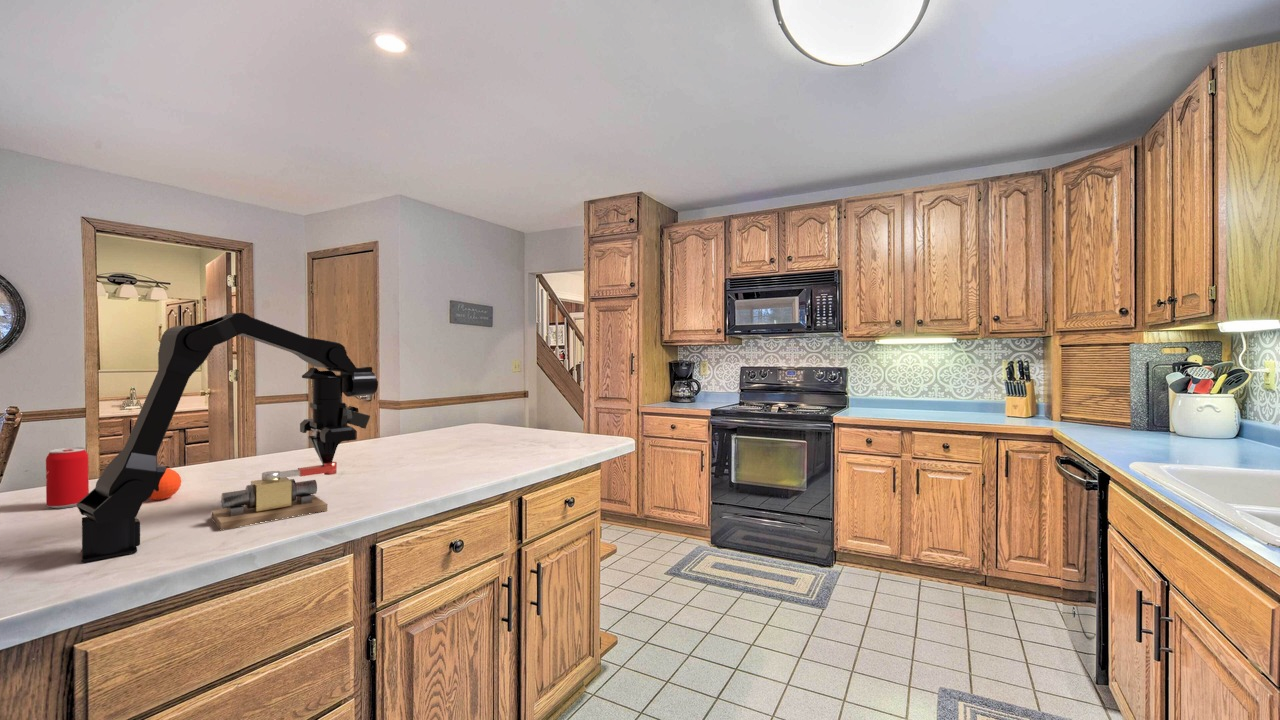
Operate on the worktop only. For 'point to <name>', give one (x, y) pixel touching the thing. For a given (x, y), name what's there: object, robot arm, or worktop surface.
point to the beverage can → (66, 477)
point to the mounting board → (266, 514)
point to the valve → (268, 495)
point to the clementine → (167, 485)
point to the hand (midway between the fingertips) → (327, 468)
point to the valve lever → (301, 472)
